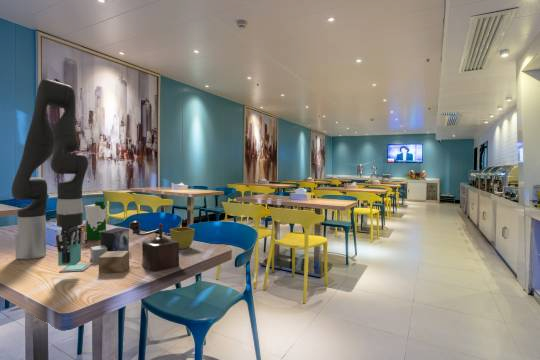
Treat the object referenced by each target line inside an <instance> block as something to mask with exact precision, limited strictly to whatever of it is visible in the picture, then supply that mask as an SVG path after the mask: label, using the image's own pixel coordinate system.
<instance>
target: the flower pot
mask: <svg viewBox="0 0 540 360" xmlns="http://www.w3.org/2000/svg"><path fill="white" fill-rule="evenodd" d="M195 231H196V230H195V228H191V227H187V226H182V227H174V228H169V234H170V239H171V240H173V241H176V242H179V250H182V249H188V248H190V247H191V246H192V244H193V242H194V237H195Z"/></svg>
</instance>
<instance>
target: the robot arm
mask: <svg viewBox="0 0 540 360" xmlns="http://www.w3.org/2000/svg"><path fill="white" fill-rule="evenodd" d="M48 106H51V107H55V108H59V109H63V110H64V112H63V114H62V115H61V116H60V117H59V119H58V120H57V121H56V122H55V124H54V125H53V126H52V125H51V123H50V120H49V118H48V114H47V110H48ZM76 111H77V110H76V93H75V89H74V88H73V86H71V85H68V84H66V83H64V82H63V83H62V82H59V81H55V80H51V79H48V78H43V79H41V80H40V82H39V84H38V86H37V91H36V96H35V103H34V109H33V114H32V118H31V122H30V126H29V129H28V132H27V135H26V139H25V142H24V147H23V152H22V157H21V160H20V162H19V166H18V167H17V171H16V174H15V176H14V179H13V181H12V185H11V194H12V197H13V199H15V200H17V201H28V200H32V201H31V203H29V204H28V205H26V206H25V207H22V208H20V209H18V210H17V234H16V235H15V240H14V243H15V244H14V245H15V250H14V251H15V259H16V260H18V259H19V260H33V259H39V258H42V257H45V256H46V255H47V230H46V229H47V226H46V225H47V224H46V223H47V219H46V218H47V217H46V215H47V214H46V213H47V212H46V211H47V207H48V206H47V205H48V204H47V203H48V183H47V181H46V178H44V177H40V176H38V177H37V176H35V177H34V176H32V175H33V173H34V172H35V171H36V170H37V169H38V168H39V167H40V166H42V165H43V164H44V163H45V162H46V161H48V159H49V158H51V156H52V158H51V161H50V167H51V170H52V171H53V172H54V173H55V174H58V175H74V176H73V178H71V179H68V180H62V181H60V182H58V183H57V201H56V227H59V228H61V230H60V231H61V232H60V234H58V235H56V236H55V241H56V247H57V252H62V263H63V264H65V263H69V262H70V248H71V245H73V244H81V243H82V242H81V241H82V231H83V227H80V226H82V225H83V223H84V218H83V217H84V216H83V215H84V204H83V184H84V179H85V176H86V173H87V170H88V167H89V160H88V158H87V156H86V155H85V154H83V153H74V152H77V150H78V149H79V146H80V144H79V139H78V135H77V130H76ZM67 245H68V248H67Z"/></svg>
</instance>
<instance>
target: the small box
mask: <svg viewBox="0 0 540 360" xmlns="http://www.w3.org/2000/svg"><path fill="white" fill-rule="evenodd" d="M129 233H130V228H124V227H115V228H110V229H108V230H107V229H106V231H102V232H101V240H100V246H102V245H104V246H105V247H106V248H107V251H129V252H130V250H129V249H130V248H129V247H130V246H129V245H130V244H129V242H130V241H129V240H130V234H129Z"/></svg>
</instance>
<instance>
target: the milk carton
mask: <svg viewBox="0 0 540 360" xmlns="http://www.w3.org/2000/svg"><path fill="white" fill-rule="evenodd" d="M94 203H95V204H88V205H83V208H84V211H85V233H86V232H87V240H86V241H101V232H102V231H107V210H108V209H107V208H108V204H105V201H104V200H95V202H94Z"/></svg>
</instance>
